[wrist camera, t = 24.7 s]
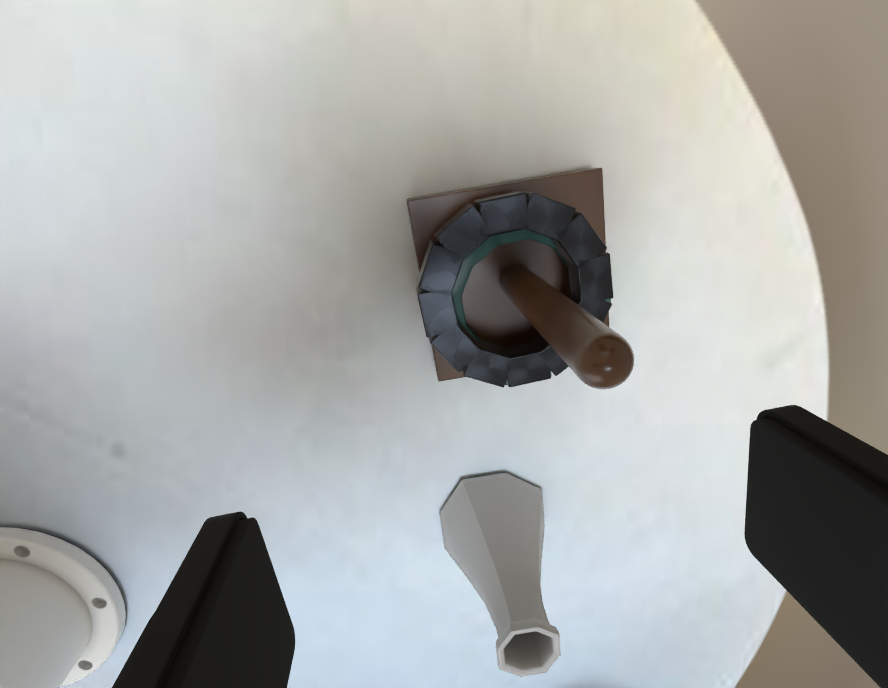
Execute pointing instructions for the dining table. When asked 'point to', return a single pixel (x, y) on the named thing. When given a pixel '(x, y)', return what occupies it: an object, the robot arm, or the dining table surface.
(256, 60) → the dining table surface
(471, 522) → the flask
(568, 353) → the stand
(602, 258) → the graphite ring
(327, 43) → the dining table surface
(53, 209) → the dining table surface
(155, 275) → the dining table surface
